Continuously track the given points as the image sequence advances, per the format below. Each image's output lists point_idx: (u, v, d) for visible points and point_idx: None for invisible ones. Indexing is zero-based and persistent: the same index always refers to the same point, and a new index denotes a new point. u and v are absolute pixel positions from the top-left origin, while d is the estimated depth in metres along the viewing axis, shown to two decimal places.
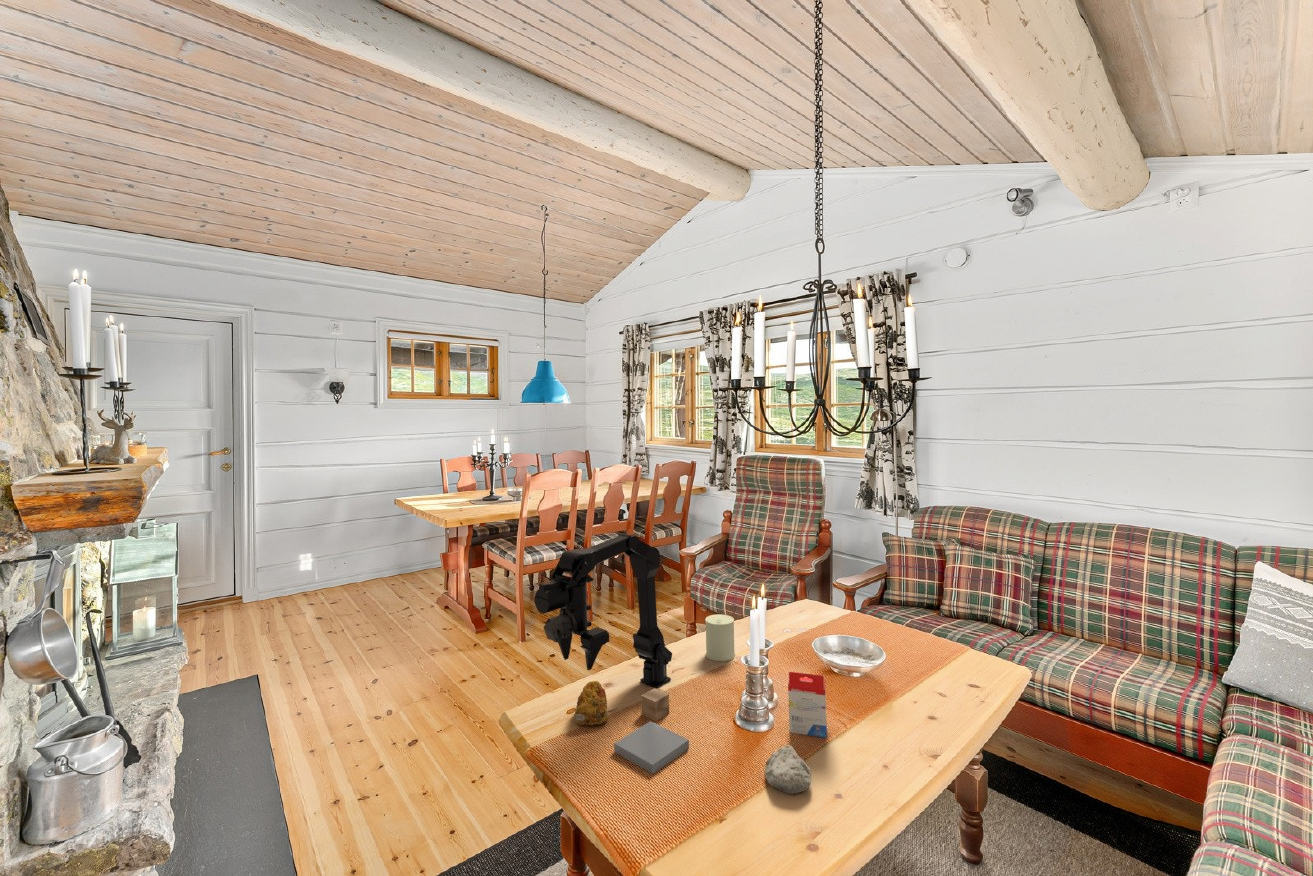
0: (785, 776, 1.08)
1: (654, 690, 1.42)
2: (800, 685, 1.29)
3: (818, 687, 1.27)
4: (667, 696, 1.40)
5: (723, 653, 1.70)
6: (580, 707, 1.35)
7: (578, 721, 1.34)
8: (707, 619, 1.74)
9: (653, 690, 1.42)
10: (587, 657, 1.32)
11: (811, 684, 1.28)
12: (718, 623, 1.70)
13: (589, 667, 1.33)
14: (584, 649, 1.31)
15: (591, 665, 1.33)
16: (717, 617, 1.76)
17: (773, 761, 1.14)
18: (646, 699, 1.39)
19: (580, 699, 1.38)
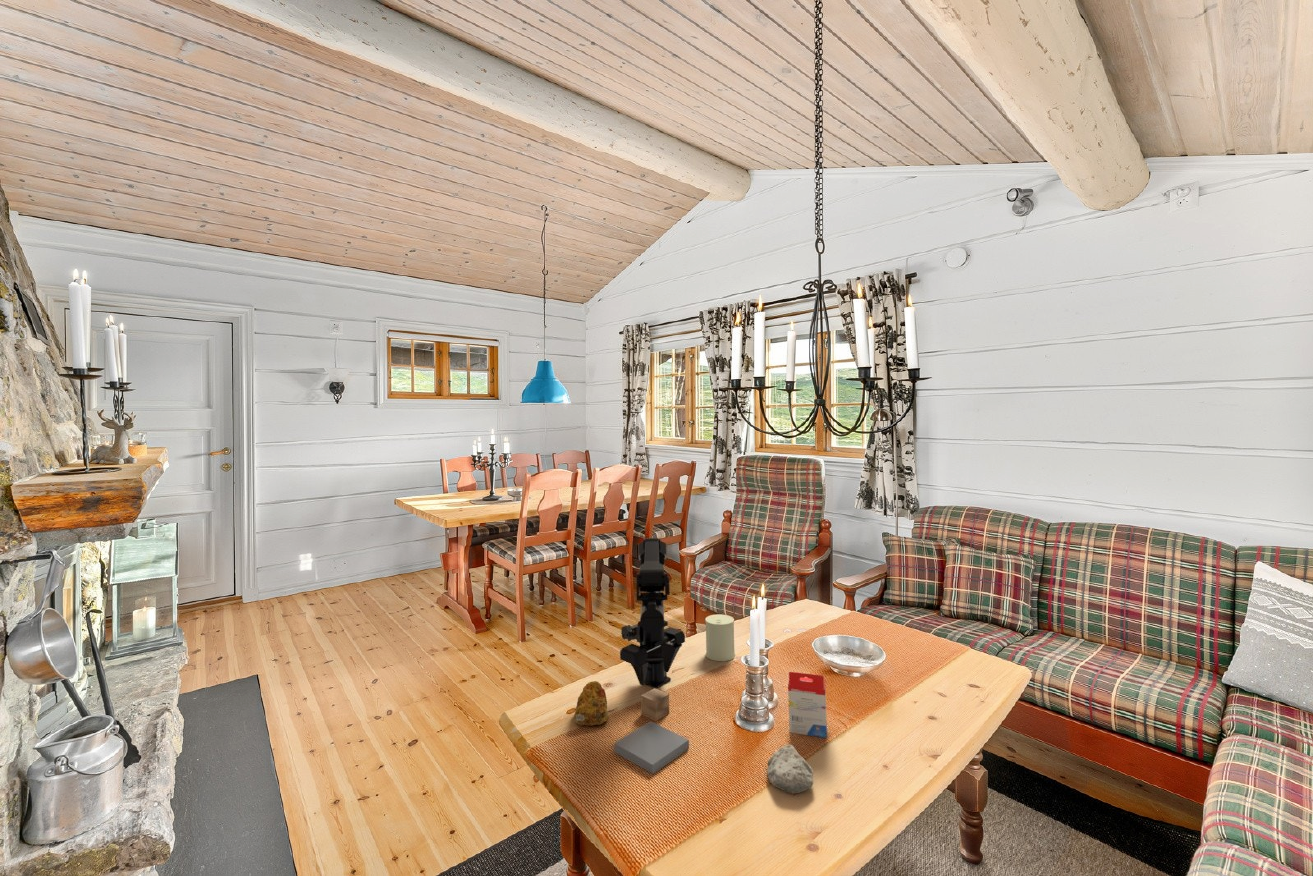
0: (788, 776, 1.08)
1: (654, 690, 1.42)
2: (800, 685, 1.29)
3: (818, 687, 1.27)
4: (667, 696, 1.40)
5: (723, 653, 1.70)
6: (580, 707, 1.35)
7: (578, 721, 1.34)
8: (707, 619, 1.74)
9: (653, 690, 1.42)
10: None
11: (811, 684, 1.28)
12: (718, 623, 1.70)
13: (639, 681, 1.36)
14: None
15: (641, 681, 1.36)
16: (717, 617, 1.76)
17: (775, 761, 1.14)
18: (646, 699, 1.39)
19: (580, 699, 1.38)
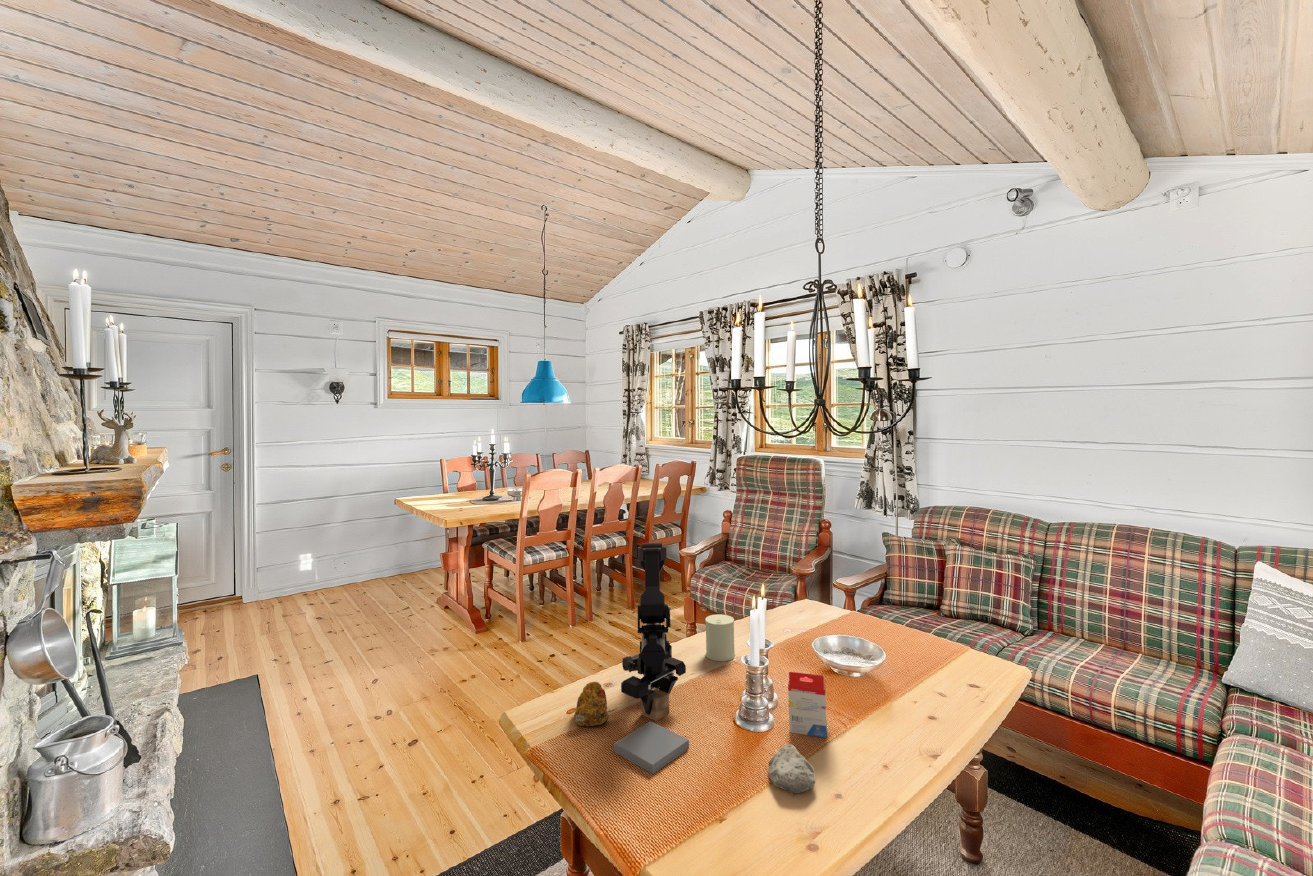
0: (791, 776, 1.09)
1: (654, 689, 1.42)
2: (800, 685, 1.29)
3: (818, 687, 1.27)
4: (667, 696, 1.40)
5: (723, 653, 1.70)
6: (580, 708, 1.35)
7: (578, 722, 1.34)
8: (707, 619, 1.74)
9: (653, 690, 1.42)
10: None
11: (811, 684, 1.28)
12: (718, 623, 1.70)
13: (646, 711, 1.38)
14: None
15: (647, 710, 1.38)
16: (717, 617, 1.76)
17: (776, 761, 1.14)
18: None
19: (580, 700, 1.38)
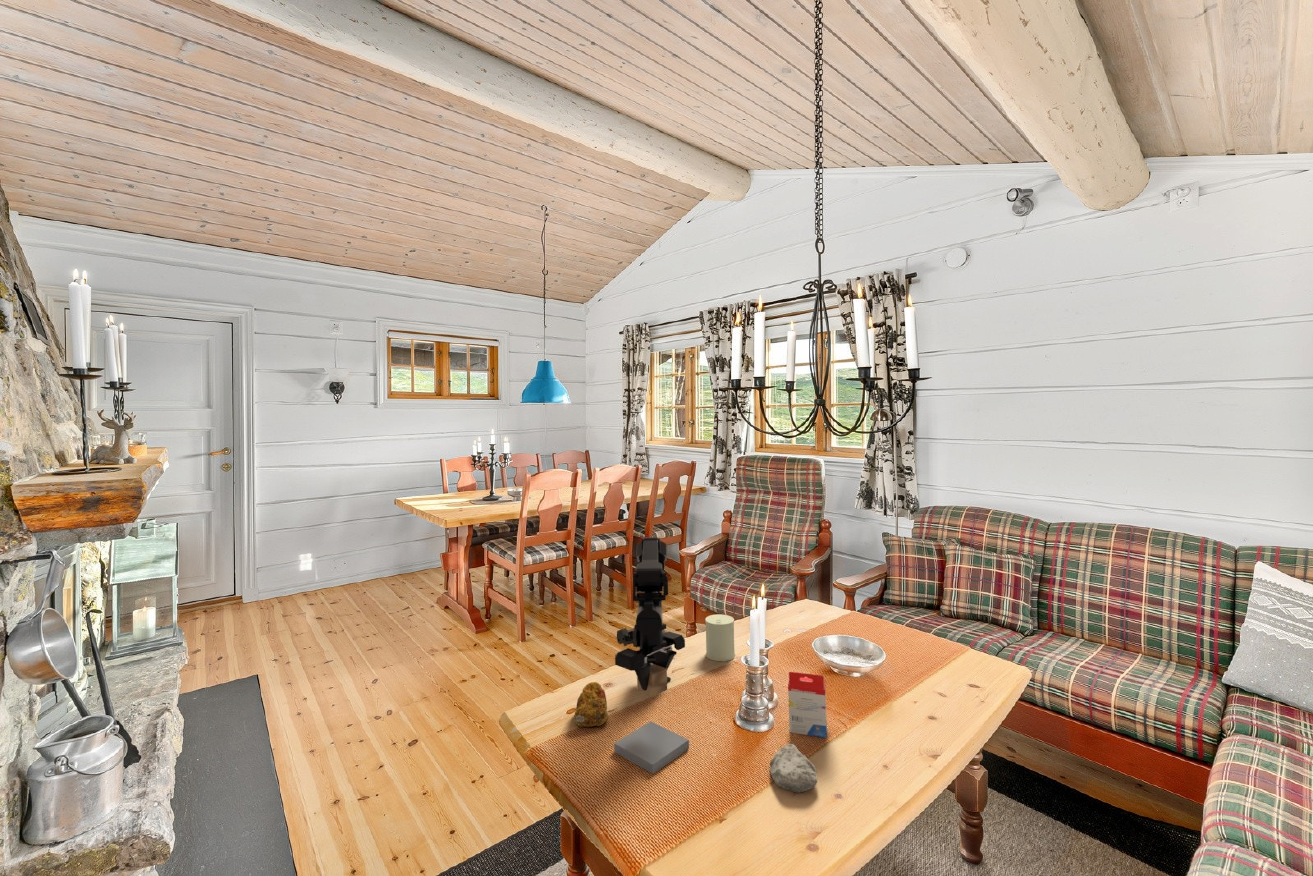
0: (793, 775, 1.09)
1: (651, 664, 1.33)
2: (800, 685, 1.29)
3: (818, 687, 1.27)
4: (665, 670, 1.30)
5: (723, 653, 1.70)
6: (580, 708, 1.34)
7: (578, 722, 1.34)
8: (707, 619, 1.74)
9: None
10: None
11: (811, 684, 1.28)
12: (718, 623, 1.70)
13: (642, 686, 1.28)
14: None
15: (643, 686, 1.28)
16: (717, 617, 1.76)
17: (778, 761, 1.14)
18: None
19: (580, 700, 1.37)
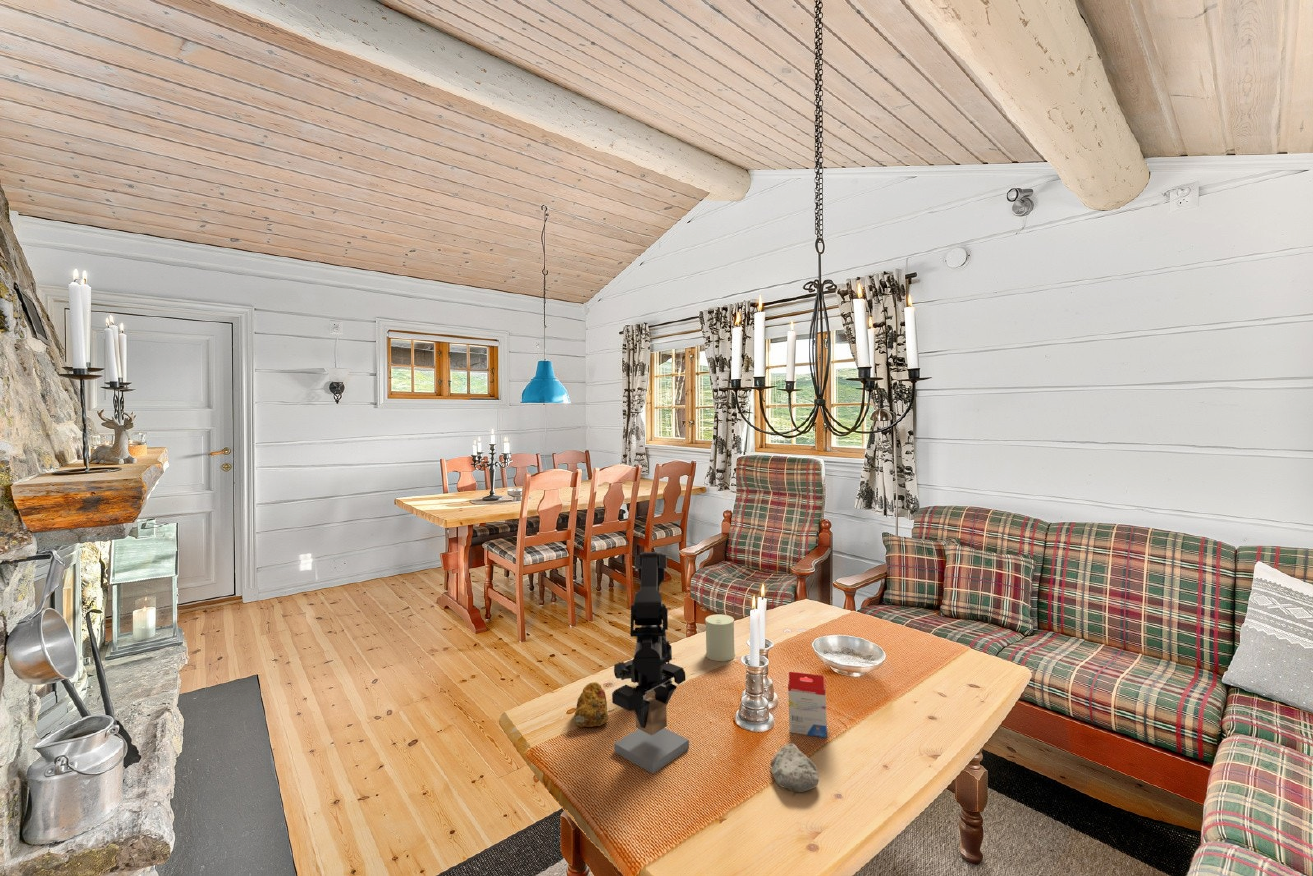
0: (795, 775, 1.09)
1: (650, 699, 1.27)
2: (800, 685, 1.29)
3: (818, 687, 1.27)
4: (664, 706, 1.24)
5: (723, 653, 1.70)
6: (580, 709, 1.34)
7: (578, 723, 1.34)
8: (707, 619, 1.74)
9: (649, 699, 1.27)
10: None
11: (811, 684, 1.28)
12: (718, 623, 1.70)
13: (640, 724, 1.22)
14: None
15: (641, 724, 1.22)
16: (717, 617, 1.76)
17: (779, 761, 1.14)
18: None
19: (580, 701, 1.37)
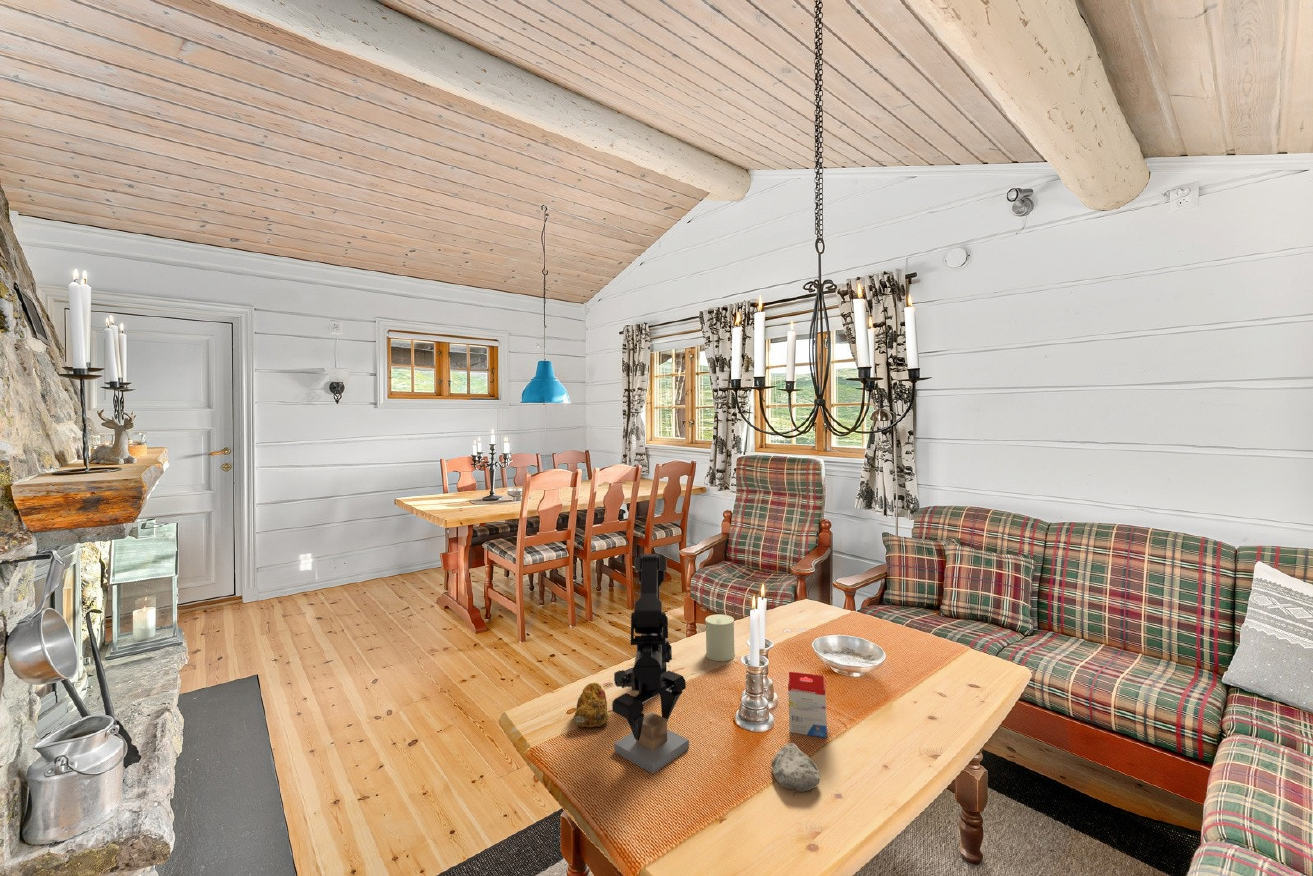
0: (797, 775, 1.09)
1: (650, 713, 1.27)
2: (800, 685, 1.29)
3: (818, 687, 1.27)
4: (665, 721, 1.24)
5: (723, 653, 1.70)
6: (580, 709, 1.34)
7: (578, 723, 1.33)
8: (707, 619, 1.74)
9: (649, 714, 1.27)
10: None
11: (811, 684, 1.28)
12: (718, 623, 1.70)
13: (634, 736, 1.21)
14: None
15: (636, 736, 1.20)
16: (717, 617, 1.76)
17: (780, 761, 1.14)
18: None
19: (580, 701, 1.37)
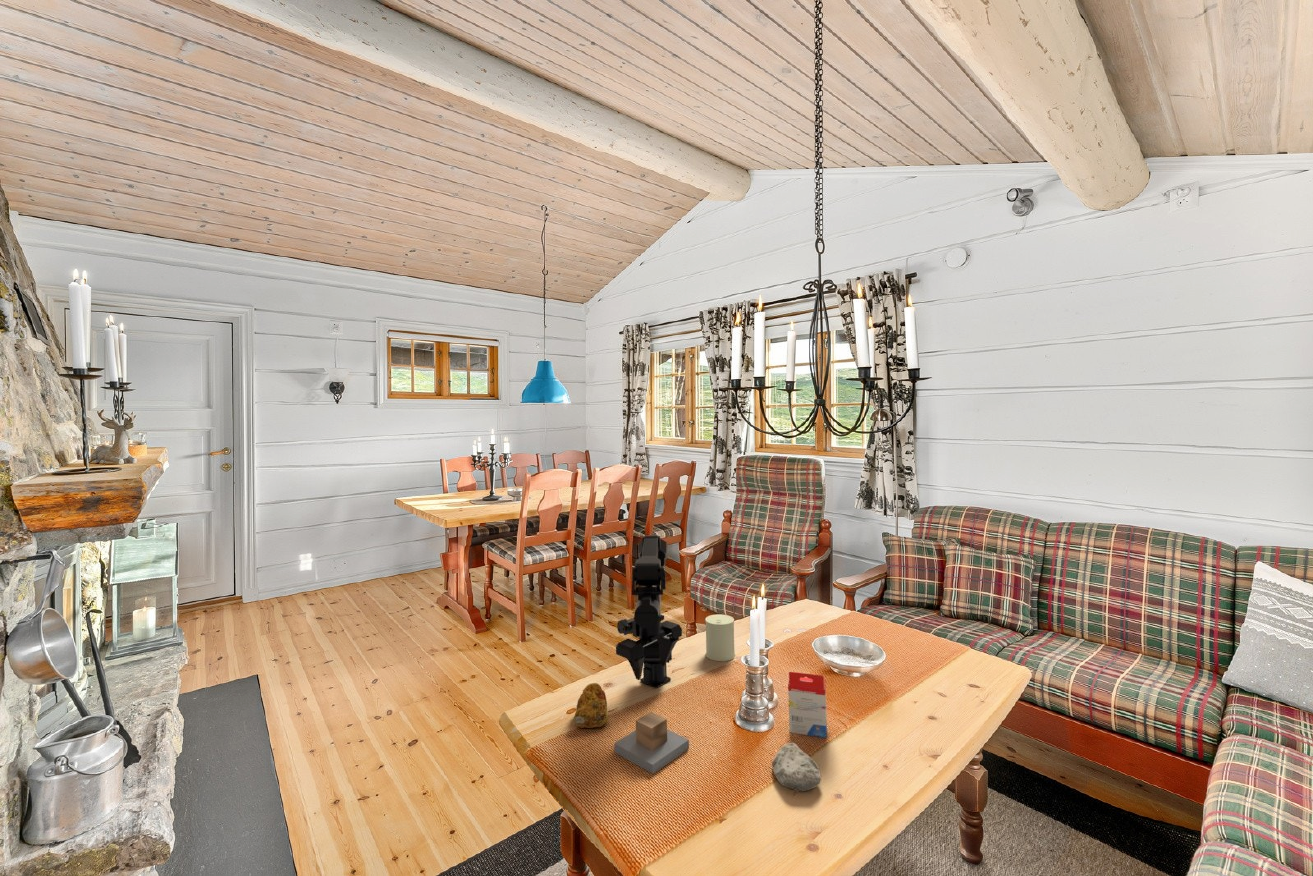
0: (798, 774, 1.09)
1: (650, 713, 1.27)
2: (800, 685, 1.29)
3: (818, 687, 1.27)
4: (665, 721, 1.24)
5: (723, 653, 1.70)
6: (580, 710, 1.34)
7: (578, 724, 1.33)
8: (707, 619, 1.74)
9: (649, 714, 1.27)
10: None
11: (811, 684, 1.28)
12: (718, 623, 1.70)
13: (636, 676, 1.35)
14: None
15: (637, 676, 1.34)
16: (717, 617, 1.76)
17: (781, 760, 1.14)
18: (641, 725, 1.23)
19: (580, 701, 1.37)
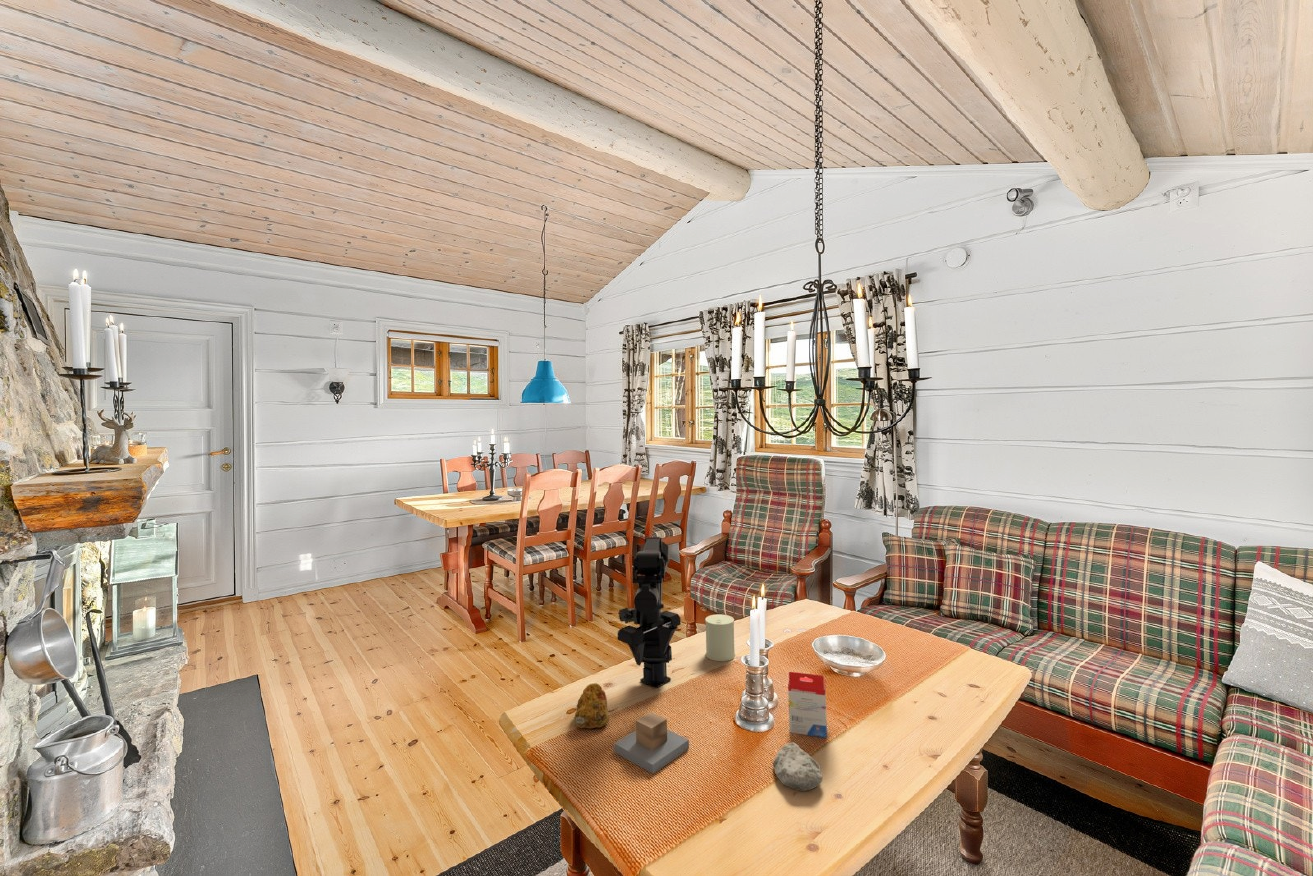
0: (800, 774, 1.09)
1: (650, 713, 1.27)
2: (800, 685, 1.29)
3: (818, 687, 1.27)
4: (665, 721, 1.24)
5: (723, 653, 1.70)
6: (580, 710, 1.34)
7: (578, 724, 1.33)
8: (707, 619, 1.74)
9: (649, 714, 1.27)
10: None
11: (811, 684, 1.28)
12: (718, 623, 1.70)
13: (636, 662, 1.41)
14: None
15: (637, 661, 1.41)
16: (717, 617, 1.76)
17: (782, 760, 1.14)
18: (641, 725, 1.23)
19: (580, 702, 1.36)
